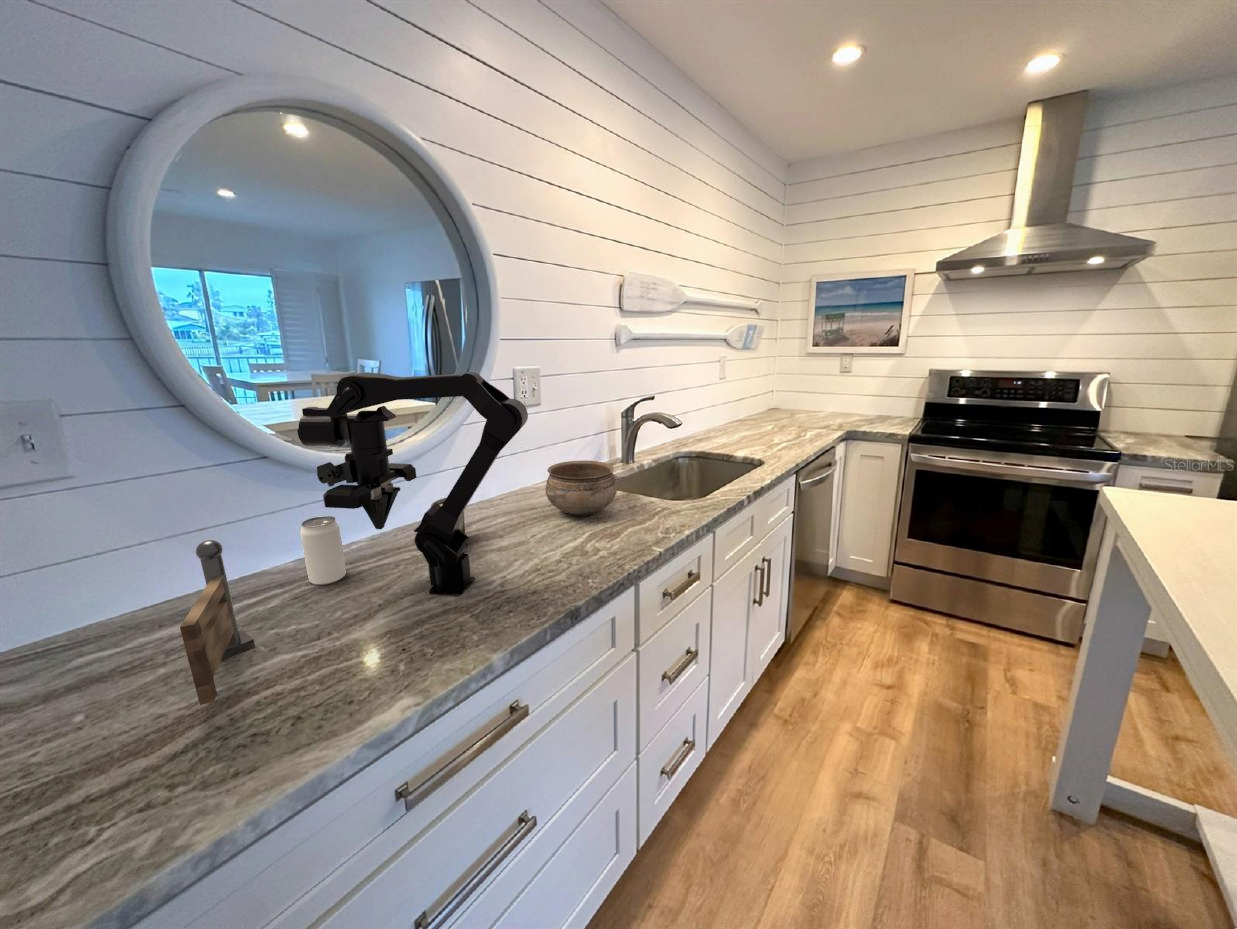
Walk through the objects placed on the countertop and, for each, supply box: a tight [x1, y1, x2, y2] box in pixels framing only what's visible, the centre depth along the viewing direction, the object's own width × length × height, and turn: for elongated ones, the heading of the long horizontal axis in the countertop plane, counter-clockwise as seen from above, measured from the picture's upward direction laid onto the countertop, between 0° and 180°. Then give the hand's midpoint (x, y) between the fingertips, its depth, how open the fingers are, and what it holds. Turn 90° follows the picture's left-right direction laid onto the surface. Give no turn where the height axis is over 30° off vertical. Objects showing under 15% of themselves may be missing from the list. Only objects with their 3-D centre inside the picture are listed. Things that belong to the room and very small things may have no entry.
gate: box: [179, 575, 239, 706], centre depth 66 cm, size 14×1×11 cm, turn 26°
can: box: [300, 515, 347, 586], centre depth 96 cm, size 6×6×12 cm
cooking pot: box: [545, 460, 618, 518], centre depth 132 cm, size 25×19×12 cm
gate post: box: [195, 539, 256, 662], centre depth 73 cm, size 4×4×18 cm
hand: (379, 528), depth 91 cm, fingers closed
